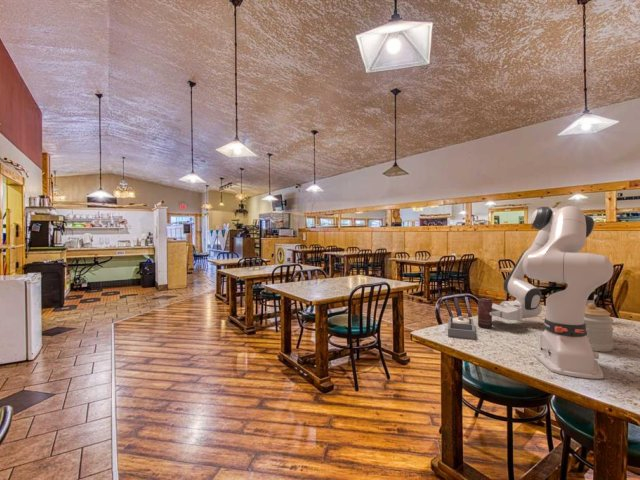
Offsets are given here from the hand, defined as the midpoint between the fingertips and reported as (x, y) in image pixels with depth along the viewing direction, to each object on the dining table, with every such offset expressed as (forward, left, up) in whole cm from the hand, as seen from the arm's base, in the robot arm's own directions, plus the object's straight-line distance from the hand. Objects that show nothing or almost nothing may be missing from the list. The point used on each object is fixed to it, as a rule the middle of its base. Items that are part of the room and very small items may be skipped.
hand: (483, 311), depth 157 cm
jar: (-15, -38, -8) cm, 41 cm away
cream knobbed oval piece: (-5, +10, -7) cm, 13 cm away
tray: (-11, +10, -8) cm, 16 cm away
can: (0, -1, -8) cm, 8 cm away
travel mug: (-1, -40, -8) cm, 40 cm away
